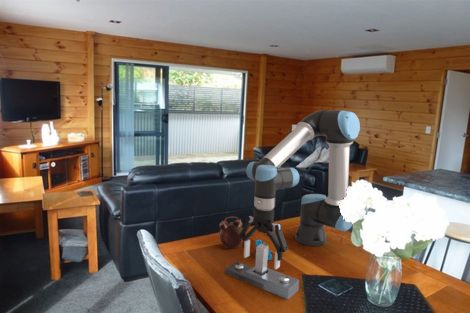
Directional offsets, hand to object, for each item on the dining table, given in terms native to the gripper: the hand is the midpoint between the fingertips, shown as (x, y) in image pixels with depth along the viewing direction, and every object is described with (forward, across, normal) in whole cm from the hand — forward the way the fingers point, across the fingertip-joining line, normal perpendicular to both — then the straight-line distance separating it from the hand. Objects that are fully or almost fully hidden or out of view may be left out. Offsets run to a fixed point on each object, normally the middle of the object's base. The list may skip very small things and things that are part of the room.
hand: (261, 262), depth 130 cm
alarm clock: (+8, -27, +16) cm, 32 cm away
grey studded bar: (+8, 0, 0) cm, 8 cm away
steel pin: (+8, 0, 0) cm, 8 cm away
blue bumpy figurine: (+8, -10, +18) cm, 22 cm away
